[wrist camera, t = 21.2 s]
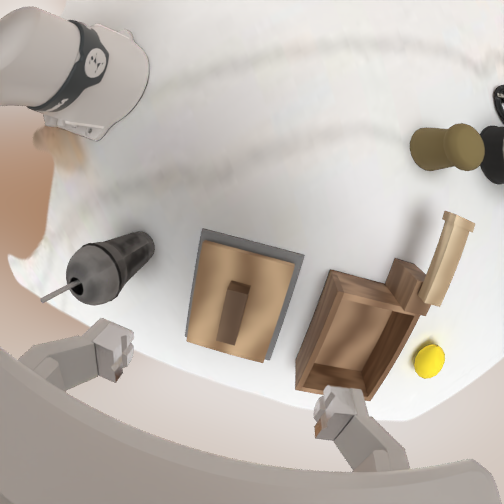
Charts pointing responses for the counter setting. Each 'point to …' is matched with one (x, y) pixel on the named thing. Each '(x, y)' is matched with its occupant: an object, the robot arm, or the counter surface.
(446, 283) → the light wooden bar
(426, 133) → the olive chess pawn
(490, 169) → the milk frother
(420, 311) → the brown wooden box
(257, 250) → the mat
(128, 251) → the beverage cup
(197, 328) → the lid
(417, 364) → the lemon
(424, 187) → the counter surface
